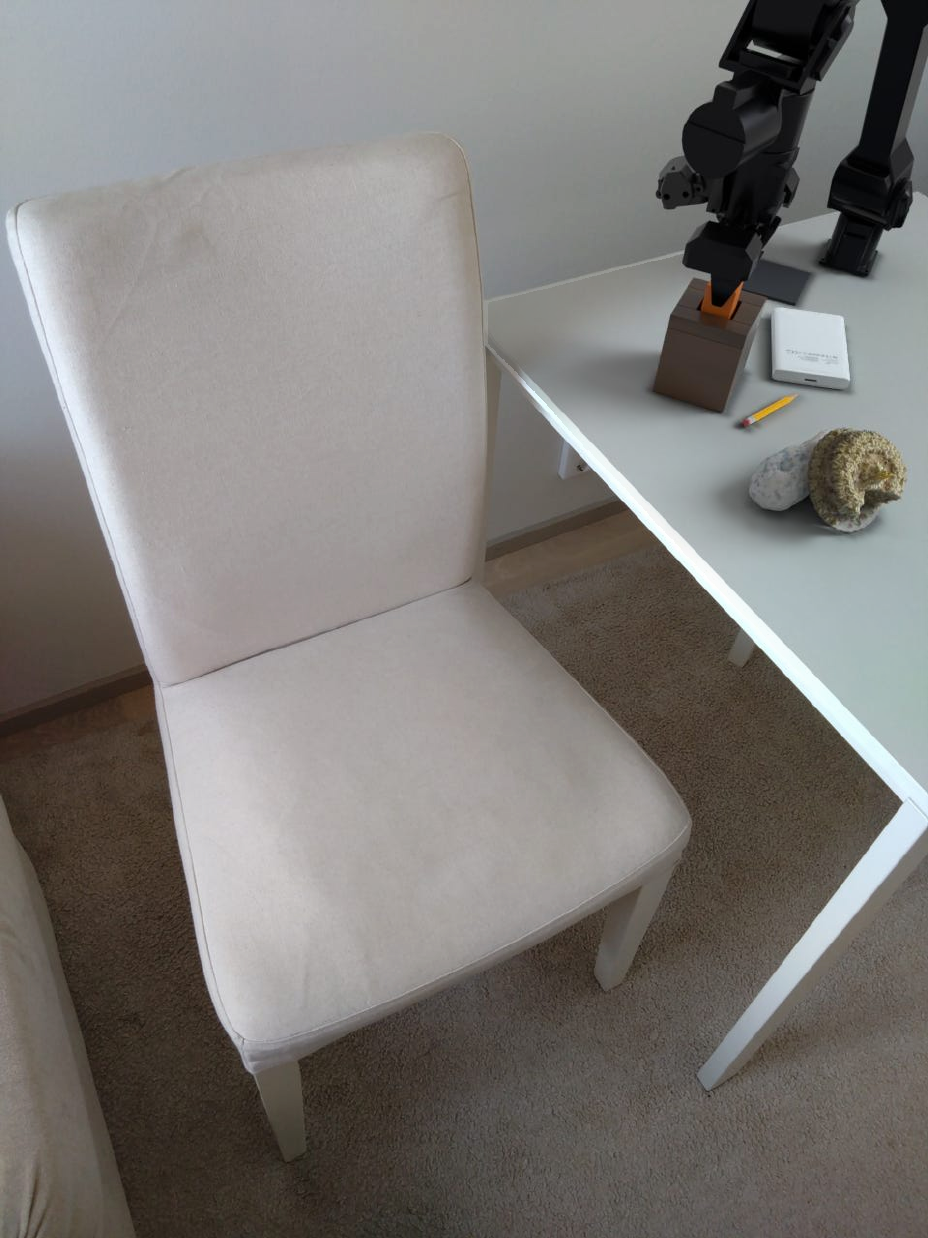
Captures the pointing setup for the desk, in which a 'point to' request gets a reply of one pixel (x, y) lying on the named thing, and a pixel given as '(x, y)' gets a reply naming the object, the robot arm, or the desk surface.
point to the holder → (706, 348)
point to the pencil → (768, 410)
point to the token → (727, 308)
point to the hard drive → (809, 348)
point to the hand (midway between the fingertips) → (721, 297)
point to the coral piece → (854, 477)
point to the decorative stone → (784, 476)
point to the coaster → (776, 282)
